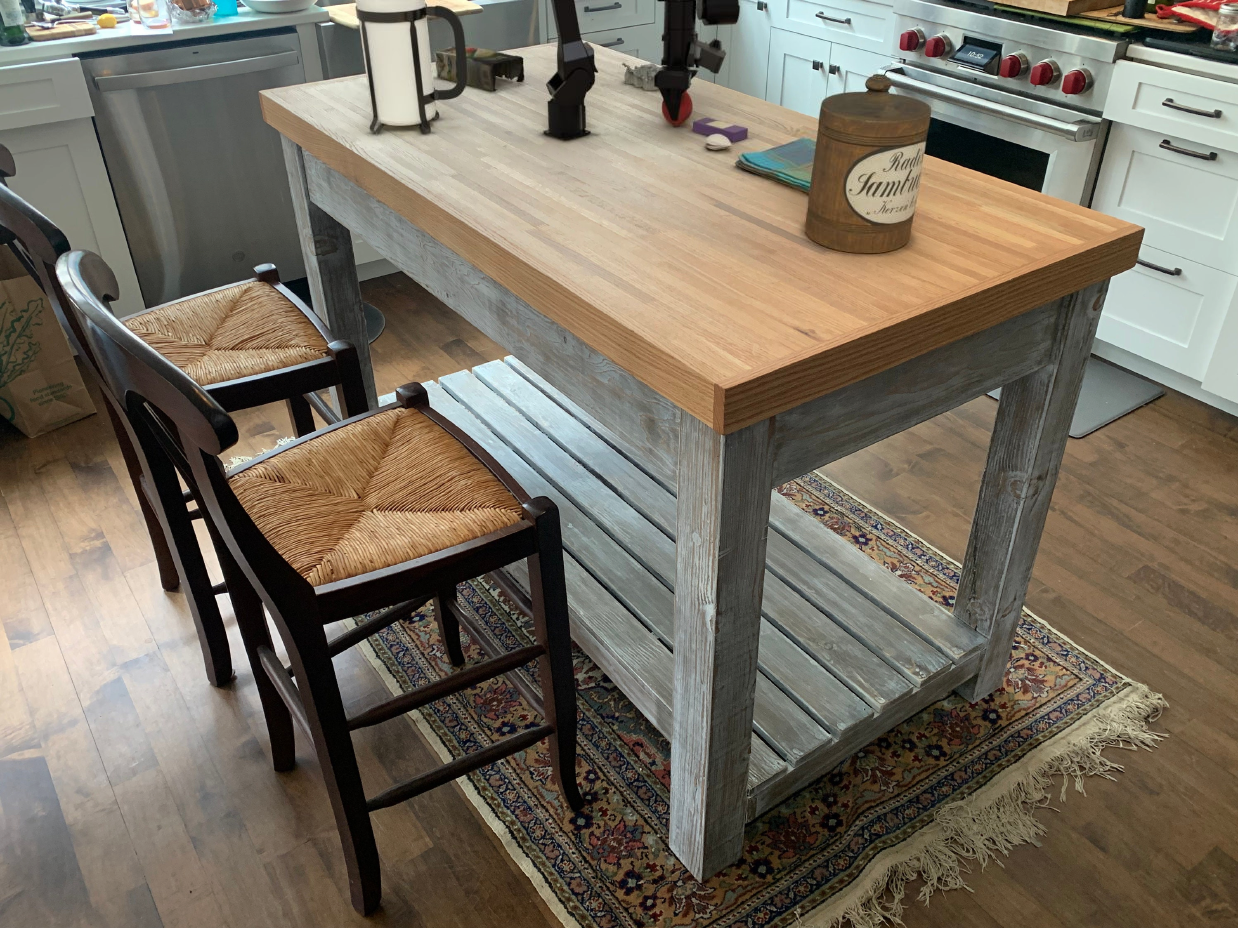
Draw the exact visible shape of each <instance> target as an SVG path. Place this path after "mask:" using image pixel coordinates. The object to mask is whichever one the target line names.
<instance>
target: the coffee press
mask: <svg viewBox="0 0 1238 928" xmlns="http://www.w3.org/2000/svg"><path fill="white" fill-rule="evenodd" d="M354 1H355V4H356V5H355V13H356V18H357V19H358V24H359V25H358V26H359V32H360V40H361V46H362V54H363V60H364V68H365V76H366V84H367V89H368V90H367V91H368V97H369V104H370V110H371V115H372V120H371V123H370V125H369V131H370V132H371V133H373V134H376V135H378V134H380V133H381V131H382V130H383V128H384V127H386V126H400V127H402V126H403V127H405V126H413V125H414V126H416V127H418V129H419V131H420V132H421V134H423V135H426V134H429V133H431V132H432V128H431V125H430V123H429V121H431V120H435V121H437V120H439V118H440V116H441V115H440V112H439V111H438V109H437V107H436V106H437V104H436V101H446V100H453V99H457V98H458V97H460V96H461V95H462V94H463V92H464V91H465V89H466V87H467V85H466V84H467V59H466V47H465V45H466V40H465V39H466V37H465V31H464V26H463V24H462V22H461V20H460V18H459V16H458V15H457V14H456V13H455V11H453V10H452V9H451V8H449V7H447V6H443V5H434V6H432V5H431V6H428V4H427V3H426V0H354ZM427 16H428V17H436V18H442V19H445V20H446V21H447V22H448V24H449V25H450V27H451V28H452V31H453V37H454V47H455V49H456V60H457V72H458V81H457V82H456V84H455V86H454V87H452V88H449V89H436V88H435V86H434V85H435V84H434V75H433V66H432V56H431V45H430V35H429V27H428V26H429V25H428V18H427ZM377 123H380V124H378V126H376V125H377ZM375 127H376V129H375Z"/></svg>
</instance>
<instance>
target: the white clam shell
mask: <svg viewBox="0 0 1238 928" xmlns="http://www.w3.org/2000/svg"><path fill="white" fill-rule="evenodd" d="M705 142H706V143H705V147H706V148H708V149H710V150H711V151H718V150H724V149H728V148H731V147H732V146H733V145H732V142H730V141H729V139H728V138H727V137H725V136H723V135H721V134H713V135H710V136H708V135H707V137H706V139H705Z"/></svg>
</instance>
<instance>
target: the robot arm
mask: <svg viewBox="0 0 1238 928" xmlns="http://www.w3.org/2000/svg"><path fill="white" fill-rule="evenodd" d="M739 1H740V0H656V2H658V3H660V2H662V3H664V5H663V33H662V34H661V42H662V44H663V45H662V58H661V59H660V65H661V66H660V67H661V68H660V69H659V70H658V71H657V72H656V74H655V75H654V86H655V87H658V91H659V94H660V95H661V97H662V101H663V100H664V102H665V105H666V107H667V110H668V112H669V115H670V118H671V120H672V121H677V120H678V116H679V111H680V106H681V101H682V96H683V93H684V92H685V91H686V92H687V91H688V90H689V89H690V88H691V86H692V79H694V78H695V76H696V75H697V74H698V72H699V70H698V69H699V68H700V67H701V68H704V69H705V70H708V71H709V72H710V73H712V74H715V75H717V74H719V72H720V70H721V68H722V65H723V63H724V61H725V58H726V56H727V52H726V50H725V49H723V43H722V41H721V40H720V39H717V38H715V37H714V38H713V39H712V40H711V41H710V42H709V43H708V42H707V41H705V42H703V41H701V40H699V33H698V31H697V30H696V29H697V27H696V24H697V19H698V21H701V22H702V24H703V26H705V27H706V26H707V27H708V26H731V25H736V24H737V23H738V21H739V18H740V13H741V12H740V11H741V10H740V9H741V6H740V2H739ZM550 2H551V8H552V14H553V19H554V24H555V29H556V34H557V47H556V70H557V71H556V72H554V74H553V75H552V76H551V78H549V80H548V81H547V82H546V83H545V86H546V89H547V92H548V94H549V95H550V96H551V98H550V100H548V101H547V121H548V125H547V126H548V129H545V130H542V134H543V135H546V136H550V137H553V138H555V139H559V140H561V141H570V140H574V139H576V138H577V139H578V138H581V137H584V136H588V135H591V134H592V133H591V131H592V130H589V129H586V128H587V110H586V105H585V99H586V96H587V93H589V92H590V90H591V89H593V86H594V85H595V83H596V74H598V73H599V70H598V68H597V66H596V63H595V62H596V61H595V49H594V48H593V46H591V44H590V43H589V42H588V41H585V42H584V41H583V39H582V36H581V31H580V24H579V19H578V13H577V8H576V3H575V0H550ZM694 67H695V69H691V68H694ZM687 93H688V92H687Z"/></svg>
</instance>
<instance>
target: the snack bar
mask: <svg viewBox="0 0 1238 928" xmlns="http://www.w3.org/2000/svg"><path fill="white" fill-rule="evenodd" d="M691 130H692V132H694V133H697V134H701V135H705V136H707V137H708V136H710V135H713V134H721V135H723V136H725V137H727V138H728V139H729V141H730V142H731V143H732V144H733V143H738V142H740V141H742V140H746V139H748V132H749V128H747V127H744V126H740V125H737V124H733V123H729V122H725V121H722V120H718V119H713V118H710V117H704V118H701V119H697V120H694V121H692V129H691Z"/></svg>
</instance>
